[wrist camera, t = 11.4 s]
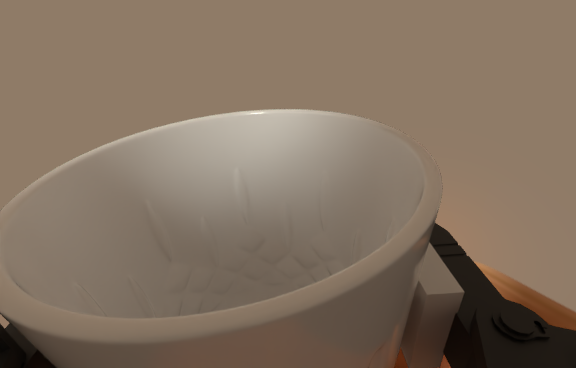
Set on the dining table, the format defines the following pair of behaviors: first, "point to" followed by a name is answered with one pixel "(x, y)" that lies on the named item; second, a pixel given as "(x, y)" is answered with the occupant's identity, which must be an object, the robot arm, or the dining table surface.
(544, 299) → the dining table surface
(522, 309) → the robot arm
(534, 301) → the dining table surface
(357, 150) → the white cup
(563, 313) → the dining table surface
